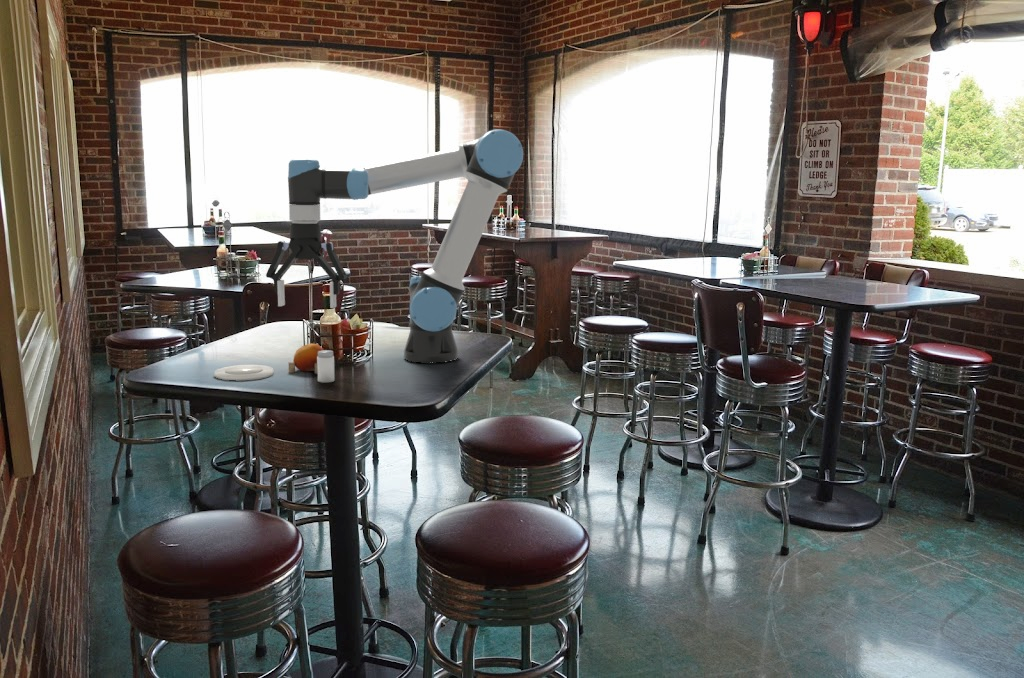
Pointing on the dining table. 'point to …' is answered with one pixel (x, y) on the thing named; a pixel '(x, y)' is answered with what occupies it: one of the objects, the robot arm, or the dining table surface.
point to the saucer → (243, 372)
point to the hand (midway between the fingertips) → (307, 306)
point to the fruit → (307, 357)
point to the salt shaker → (325, 366)
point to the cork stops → (292, 367)
